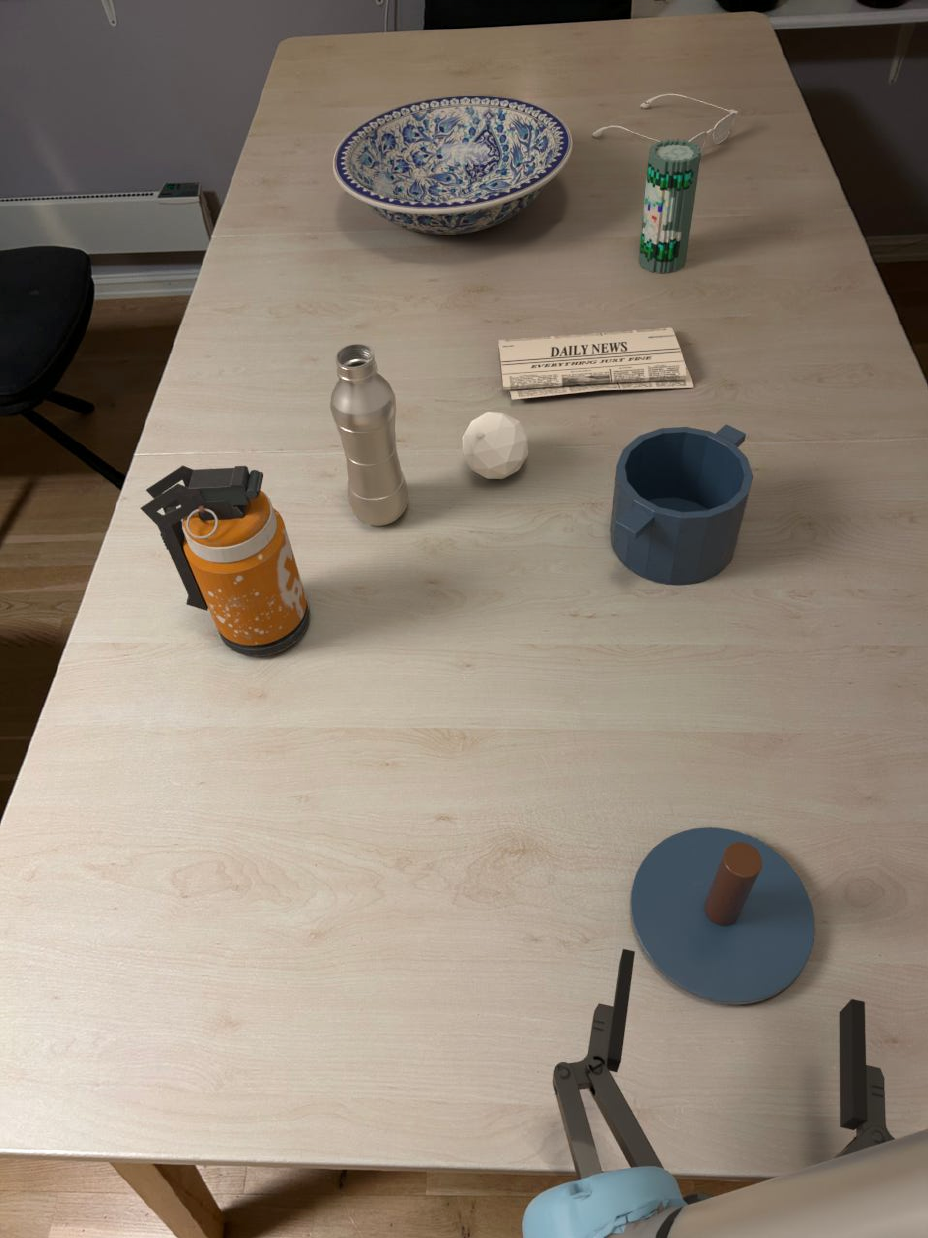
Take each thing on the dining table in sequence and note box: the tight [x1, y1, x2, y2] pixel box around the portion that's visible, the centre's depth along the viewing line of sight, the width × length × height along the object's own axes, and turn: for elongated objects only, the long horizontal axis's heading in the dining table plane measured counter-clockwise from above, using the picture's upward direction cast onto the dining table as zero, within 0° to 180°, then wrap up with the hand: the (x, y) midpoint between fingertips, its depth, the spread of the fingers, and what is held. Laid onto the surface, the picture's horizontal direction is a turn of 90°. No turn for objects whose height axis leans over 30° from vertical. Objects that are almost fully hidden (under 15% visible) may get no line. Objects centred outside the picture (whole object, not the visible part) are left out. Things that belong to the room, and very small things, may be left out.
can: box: [638, 138, 702, 274], centre depth 123 cm, size 6×6×15 cm
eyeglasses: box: [592, 93, 739, 153], centre depth 150 cm, size 15×18×4 cm
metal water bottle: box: [329, 343, 409, 527], centre depth 93 cm, size 6×7×20 cm
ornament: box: [461, 411, 529, 480], centre depth 101 cm, size 7×7×8 cm
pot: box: [609, 424, 754, 586], centre depth 93 cm, size 13×18×10 cm
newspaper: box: [497, 327, 694, 400], centre depth 114 cm, size 23×12×2 cm, turn 92°
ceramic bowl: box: [332, 94, 574, 236], centre depth 136 cm, size 34×34×10 cm
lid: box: [629, 826, 816, 1005], centre depth 68 cm, size 14×14×10 cm
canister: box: [139, 465, 311, 657], centre depth 84 cm, size 9×11×20 cm
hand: (737, 981), depth 58 cm, fingers open, 13 cm apart
